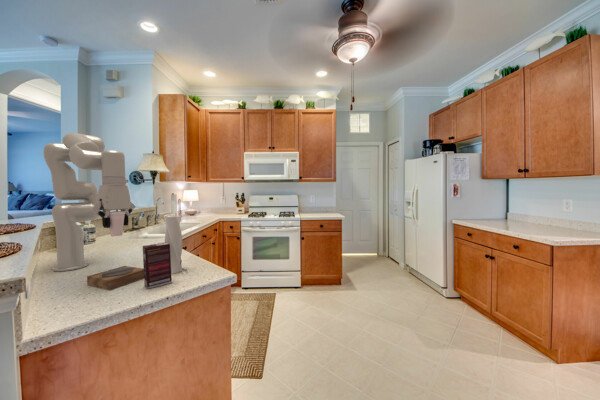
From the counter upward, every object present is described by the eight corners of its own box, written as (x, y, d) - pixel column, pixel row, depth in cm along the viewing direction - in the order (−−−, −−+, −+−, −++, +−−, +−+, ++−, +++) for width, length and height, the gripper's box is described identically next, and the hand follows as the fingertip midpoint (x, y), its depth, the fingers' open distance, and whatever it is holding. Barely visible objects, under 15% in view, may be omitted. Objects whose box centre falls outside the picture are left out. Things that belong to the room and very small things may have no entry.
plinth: (87, 285, 94) (87, 275, 94) (124, 273, 107) (124, 264, 107) (110, 290, 89) (109, 279, 88) (146, 277, 102) (146, 268, 101)
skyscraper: (188, 271, 109) (186, 210, 108) (169, 276, 103) (167, 211, 102) (180, 268, 115) (178, 209, 114) (162, 272, 109) (160, 211, 108)
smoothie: (130, 234, 100) (129, 200, 99) (117, 237, 93) (115, 201, 93) (116, 234, 100) (115, 200, 100) (102, 236, 94) (100, 201, 94)
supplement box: (168, 280, 98) (166, 241, 98) (172, 283, 95) (170, 243, 94) (143, 286, 92) (142, 245, 92) (146, 289, 89) (145, 247, 88)
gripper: (130, 182, 106) (131, 223, 106) (82, 181, 90) (84, 229, 90) (141, 182, 103) (143, 224, 103) (94, 180, 87) (97, 230, 87)
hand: (116, 226), depth 97 cm, fingers closed on smoothie, 6 cm apart
